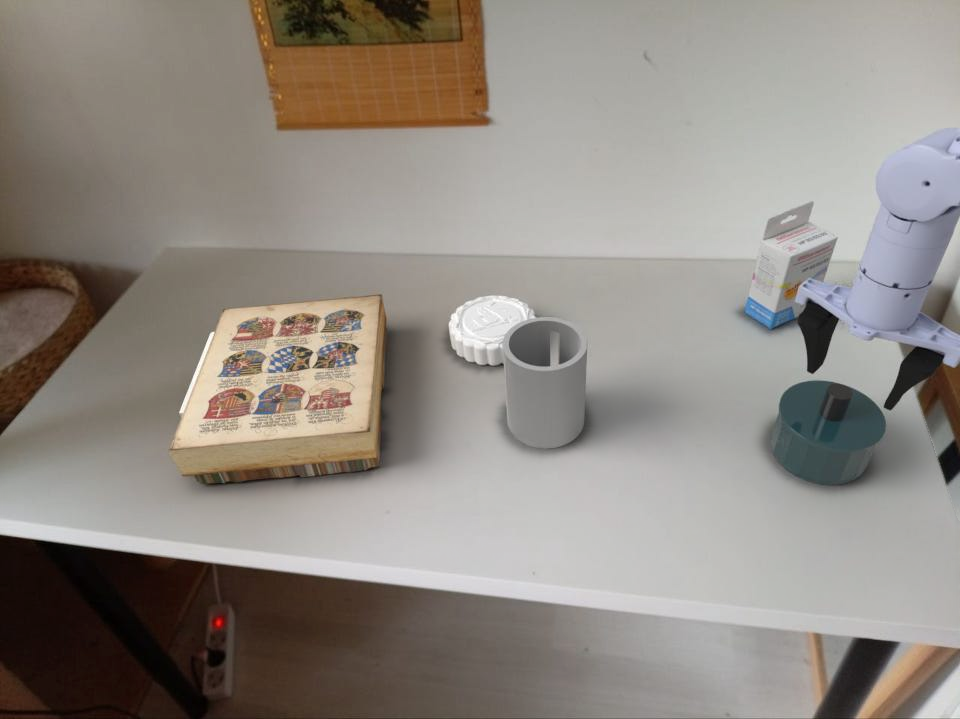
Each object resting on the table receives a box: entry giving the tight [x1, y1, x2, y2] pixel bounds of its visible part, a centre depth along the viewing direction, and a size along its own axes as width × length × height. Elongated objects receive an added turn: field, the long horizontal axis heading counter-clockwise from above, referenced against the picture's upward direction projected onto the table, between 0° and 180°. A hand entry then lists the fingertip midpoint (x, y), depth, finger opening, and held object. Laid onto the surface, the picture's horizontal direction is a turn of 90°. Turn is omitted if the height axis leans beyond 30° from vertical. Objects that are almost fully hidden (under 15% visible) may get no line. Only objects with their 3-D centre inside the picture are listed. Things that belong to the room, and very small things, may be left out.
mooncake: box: [448, 294, 537, 367], centre depth 93 cm, size 12×12×4 cm
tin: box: [770, 413, 877, 486], centre depth 73 cm, size 10×10×5 cm
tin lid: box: [778, 379, 887, 453], centre depth 70 cm, size 10×10×4 cm
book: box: [168, 293, 388, 485], centre depth 86 cm, size 25×6×28 cm
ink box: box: [744, 200, 839, 330], centre depth 89 cm, size 8×5×15 cm, turn 119°
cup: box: [503, 316, 588, 450], centre depth 78 cm, size 9×9×12 cm
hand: (851, 385), depth 68 cm, fingers open, 7 cm apart
